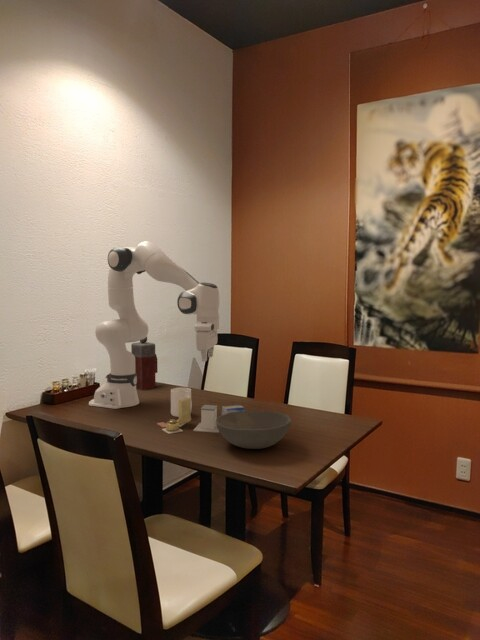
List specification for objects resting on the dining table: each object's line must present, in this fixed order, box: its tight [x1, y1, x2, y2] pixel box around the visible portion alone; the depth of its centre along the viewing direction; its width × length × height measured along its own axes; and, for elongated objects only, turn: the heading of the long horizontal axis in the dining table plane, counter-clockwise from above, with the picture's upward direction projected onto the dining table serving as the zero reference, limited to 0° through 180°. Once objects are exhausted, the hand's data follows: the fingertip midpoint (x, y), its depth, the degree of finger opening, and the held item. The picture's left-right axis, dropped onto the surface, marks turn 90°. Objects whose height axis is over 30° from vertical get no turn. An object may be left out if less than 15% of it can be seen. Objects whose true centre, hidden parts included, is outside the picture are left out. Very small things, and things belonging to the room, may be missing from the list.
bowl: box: [216, 409, 292, 450], centre depth 182 cm, size 26×26×10 cm
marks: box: [156, 421, 186, 435], centre depth 202 cm, size 13×15×1 cm
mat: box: [192, 422, 220, 434], centre depth 202 cm, size 10×10×1 cm
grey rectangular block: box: [200, 404, 218, 429], centre depth 202 cm, size 5×5×8 cm
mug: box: [170, 387, 193, 418], centre depth 219 cm, size 9×12×11 cm
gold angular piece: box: [165, 397, 192, 431], centre depth 202 cm, size 14×5×10 cm, turn 150°
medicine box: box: [221, 404, 246, 416], centre depth 201 cm, size 8×4×9 cm, turn 118°
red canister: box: [130, 335, 159, 391], centre depth 269 cm, size 9×11×28 cm
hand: (207, 358), depth 205 cm, fingers open, 8 cm apart
